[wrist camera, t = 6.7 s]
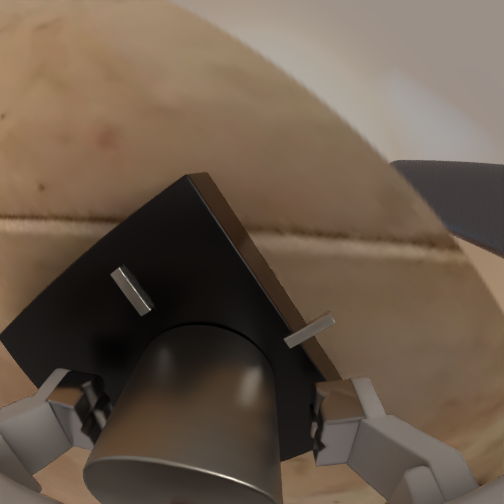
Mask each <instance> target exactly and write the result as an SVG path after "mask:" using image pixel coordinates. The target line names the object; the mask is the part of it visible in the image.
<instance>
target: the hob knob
mask: <svg viewBox="0 0 504 504" xmlns="http://www.w3.org/2000/svg"><path fill="white" fill-rule="evenodd" d="M83 479H84V482H85V484H86V486H87V488H88V490H89V491H90V492H91V494H92V495H93V496H94V497H95V498H96V499H97V500H98V501H99V502H100V503H101V504H283V496H282V480H281V465H280V451H279V437H278V423H277V409H276V396H275V383H274V375H273V371H272V368H271V366H270V364H269V362H268V360H267V359H266V357H265V356H264V354H263V353H262V352H261V351H260V350H259V349H258V348H257V347H256V346H255V345H254V344H252V343H251V342H250V341H248V340H247V339H245V338H244V337H242V336H240V335H238V334H236V333H234V332H231V331H229V330H226V329H223V328H219V327H215V326H208V325H186V326H181V327H177V328H174V329H171V330H168V331H166V332H164V333H162V334H160V335H159V336H157V337H156V338H155V339H154V340H152V341H151V342H150V343H149V345H148V346H147V348H146V349H145V351H144V353H143V354H142V356H141V358H140V360H139V362H138V363H137V365H136V367H135V369H134V371H133V373H132V374H131V376H130V378H129V380H128V382H127V384H126V386H125V388H124V389H123V391H122V393H121V395H120V397H119V399H118V401H117V403H116V405H115V406H114V408H113V410H112V412H111V414H110V416H109V418H108V420H107V422H106V424H105V426H104V428H103V430H102V432H101V434H100V436H99V438H98V440H97V442H96V444H95V446H94V448H93V450H92V452H91V454H90V456H89V458H88V460H87V462H86V464H85V466H84V469H83Z"/></svg>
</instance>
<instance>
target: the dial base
mask: <svg viewBox="0 0 504 504" xmlns="http://www.w3.org/2000/svg"><path fill="white" fill-rule="evenodd" d="M335 323H336V322H335V320H334V318H333V317H332V315H331V313H330V312H329V311H328V312H326V313H325V314H323V315H321V316H319V317H318V318H316V319H314V320H312V321H311V322H309V323H307V324H306V323H305V321H304V320H303V318H302V316H301V315H300V313H299V312H298V310H297V309H296V307H295V306H294V304H293V303H292V301H291V300H290V298H289V296H288V295H287V293H286V292H285V290H284V289H283V287H282V286H281V284H280V283H279V281H278V280H277V278H276V276H275V275H274V273H273V272H272V270H271V269H270V267H269V266H268V264H267V263H266V261H265V260H264V258H263V257H262V255H261V253H260V252H259V250H258V249H257V247H256V246H255V244H254V243H253V241H252V240H251V238H250V237H249V235H248V234H247V232H246V231H245V229H244V227H243V226H242V224H241V223H240V221H239V220H238V218H237V217H236V215H235V214H234V212H233V211H232V209H231V208H230V206H229V205H228V203H227V202H226V200H225V199H224V197H223V196H222V194H221V192H220V191H219V189H218V188H217V186H216V185H215V183H214V182H213V180H212V179H211V177H210V176H209V174H208V173H207V172H202V173H194V174H187V175H184V176H183V177H182V178H180V179H179V180H177V181H176V182H174V183H173V184H172V185H170V186H169V187H168V188H166V189H165V190H163V191H162V192H161V193H159V194H158V195H157V196H155V197H154V198H153V199H151V200H150V201H149V202H147V203H146V204H145V205H143V206H142V207H141V208H139V209H138V210H137V211H135V212H134V213H133V214H132V215H130V216H129V217H128V218H126V219H125V220H124V221H123V222H121V223H120V224H119V225H118V226H116V227H115V228H114V229H113V230H111V231H110V232H109V233H108V234H107V235H105V236H104V237H103V238H102V239H100V240H99V241H98V242H97V243H96V244H95V245H93V246H92V247H91V248H90V249H89V250H87V251H86V252H85V253H84V254H83V255H82V256H81V257H79V258H78V259H77V260H76V261H75V262H74V263H73V264H71V265H70V266H69V267H68V268H67V269H66V270H65V271H64V272H63V273H61V274H60V275H59V276H58V277H57V278H56V279H55V280H54V281H53V282H52V283H51V284H50V285H48V286H47V287H46V288H45V289H44V290H43V291H42V292H41V293H40V294H39V295H38V296H37V297H36V298H35V299H34V300H33V301H32V302H31V303H30V304H29V305H28V306H27V307H26V308H25V309H24V310H23V311H22V312H21V313H20V314H19V315H18V316H17V317H16V318H15V319H14V320H13V321H12V322H11V323H10V324H9V325H8V326H7V327H6V328H5V330H4V331H3V332H2V333H1V334H0V341H1V342H2V344H3V345H4V346H5V348H6V349H7V350H8V352H9V353H10V355H11V356H12V357H13V359H14V360H15V361H16V362H17V364H18V365H19V366H20V368H21V369H22V370H23V371H24V373H25V374H26V375H27V376H28V377H29V379H30V380H31V381H32V382H33V383H34V385H35V386H36V387H37V388H38V389H39V388H40V387H41V386H42V385H43V383H44V382H45V381H46V380H47V379H48V377H49V376H50V375H51V374H52V373H53V372H54V370H55V369H58V368H63V369H68V370H74V371H79V372H84V373H89V374H95V375H99V376H100V377H102V378H103V381H104V383H105V388H104V392H105V393H106V394H107V395H108V396H109V397H110V399H111V402H112V407H113V408H114V406H115V405H116V403H117V401H118V399H119V397H120V395H121V393H122V391H123V389H124V388H125V386H126V384H127V382H128V380H129V378H130V376H131V374H132V373H133V371H134V369H135V367H136V365H137V363H138V362H139V360H140V358H141V356H142V354H143V353H144V351H145V349H146V348H147V346H148V345H149V343H150V342H151V341H152V340H154V339H155V338H156V337H157V336H159V335H160V334H162V333H164V332H166V331H168V330H171V329H174V328H177V327H181V326H186V325H208V326H215V327H219V328H223V329H226V330H229V331H231V332H234V333H236V334H238V335H240V336H242V337H244V338H245V339H247V340H248V341H250V342H251V343H252V344H254V345H255V346H256V347H257V348H258V349H259V350H260V351H261V352H262V353H263V354H264V356H265V357H266V359H267V360H268V362H269V364H270V366H271V368H272V371H273V375H274V383H275V396H276V409H277V423H278V437H279V451H280V462H282V461H285V460H288V459H290V458H293V457H296V456H298V455H301V454H304V453H306V452H309V451H311V450H313V442H314V439H313V438H312V437H311V436H310V431H309V405H310V404H311V403H312V397H311V387H312V383H313V382H325V381H335V380H342V378H341V377H340V375H339V374H338V372H337V371H336V369H335V368H334V366H333V364H332V363H331V361H330V360H329V358H328V357H327V355H326V354H325V352H324V351H323V349H322V347H321V346H320V344H319V343H318V341H317V340H316V338H315V337H314V335H316V334H318V333H319V332H321V331H323V330H325V329H327V328H328V327H330V326H332V325H334V324H335Z"/></svg>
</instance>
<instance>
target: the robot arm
mask: <svg viewBox="0 0 504 504" xmlns="http://www.w3.org/2000/svg"><path fill="white" fill-rule="evenodd" d="M104 388H105V383H104V381H103V378H102V377H100V376H99V375H95V374H89V373H84V372H79V371H74V370H68V369H63V368H58V369H55V370H54V372H53V373H52V374H51V375H50V376H49V377H48V379H47V380H46V381H45V382H44V383H43V385H42V386H41V387H40V388H39V389H38V391H37V392H36V393H35V394H34V395H33V397H29V396H28V397H26V398H23V399H21V400H19V401H16V402H14V403H12V404H9V405H7V406H5V407H2V408H0V504H64V503H62V502H59V501H57V500H54V499H52V498H49V497H47V496H45V495H43V494H40V492H41V490H42V488H41V485H40V484H39V483H38V482H37V481H36V479H35V478H34V477H33V476H32V475H34V474H35V473H37V472H38V471H40V470H41V469H43V468H44V467H45V466H47V465H48V464H50V463H51V462H53V461H54V460H55V459H57V458H58V457H60V456H61V455H62V454H64V453H65V452H67V451H68V450H69V449H71V448H72V447H73V446H76V447H80V448H84V449H88V450H93V448H94V446H95V444H96V442H97V440H98V438H99V436H100V434H101V432H102V430H103V428H104V426H105V424H106V422H107V420H108V418H109V416H110V414H111V412H112V410H113V407H112V402H111V399H110V397H109V396H108V395H107V394H106V393H105V392H104ZM311 397H312V403H311V404H310V405H309V431H310V436H311V437H312V438H313V439H314V442H313V454H314V459H315V465H316V466H326V465H335V464H344V463H347V465H348V466H349V467H350V468H351V469H353V470H354V471H355V472H356V473H357V474H358V475H359V476H360V477H361V478H362V479H363V480H365V481H366V482H367V483H368V484H369V485H370V486H371V487H372V488H374V489H375V490H376V491H377V492H378V493H379V494H380V495H382V496H383V497H384V498H385V499H386V500H387V501H386V503H385V504H504V474H502V475H501V476H499V477H497V478H495V479H493V480H492V481H490V482H488V483H486V484H484V485H482V486H480V487H479V485H478V483H477V481H476V479H475V477H474V476H473V474H472V472H471V470H470V468H469V466H468V465H467V463H466V461H465V459H464V458H463V456H462V454H461V452H460V451H458V450H456V449H455V448H453V447H451V446H449V445H447V444H445V443H443V442H441V441H439V440H437V439H436V438H434V437H432V436H430V435H428V434H426V433H425V432H423V431H421V430H419V429H417V428H415V427H414V426H412V425H410V424H408V423H407V422H405V421H403V420H401V419H400V418H398V417H396V416H394V415H393V414H390V415H387V414H386V412H385V410H384V408H383V406H382V404H381V401H380V399H379V397H378V395H377V393H376V391H375V389H374V387H373V385H372V383H371V381H370V379H369V378H368V377H367V376H364V377H357V378H349V379H344V380H335V381H325V382H313V383H312V387H311Z"/></svg>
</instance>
